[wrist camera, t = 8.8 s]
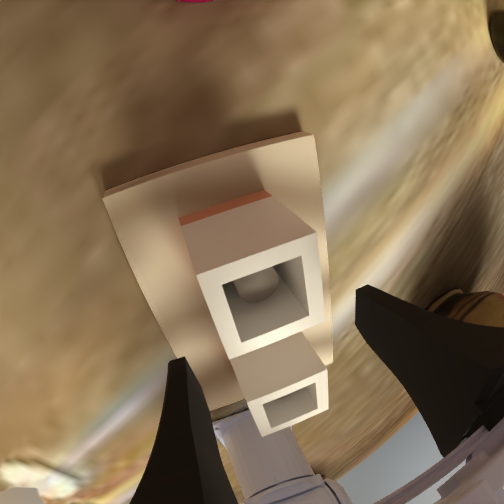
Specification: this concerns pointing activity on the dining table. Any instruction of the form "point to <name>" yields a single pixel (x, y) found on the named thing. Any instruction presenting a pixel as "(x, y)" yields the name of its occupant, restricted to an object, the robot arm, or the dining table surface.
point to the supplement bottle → (498, 32)
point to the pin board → (177, 255)
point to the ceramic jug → (471, 307)
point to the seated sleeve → (282, 383)
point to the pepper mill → (194, 1)
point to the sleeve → (255, 269)
